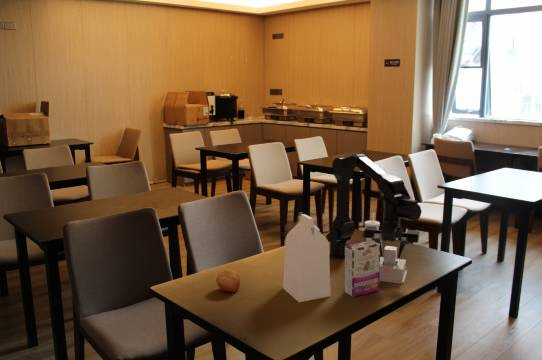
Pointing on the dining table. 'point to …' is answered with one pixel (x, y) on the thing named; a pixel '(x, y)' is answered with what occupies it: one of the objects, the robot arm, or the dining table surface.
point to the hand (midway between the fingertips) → (390, 257)
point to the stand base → (393, 271)
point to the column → (390, 255)
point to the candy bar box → (362, 268)
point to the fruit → (228, 280)
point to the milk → (306, 262)
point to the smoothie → (373, 224)
